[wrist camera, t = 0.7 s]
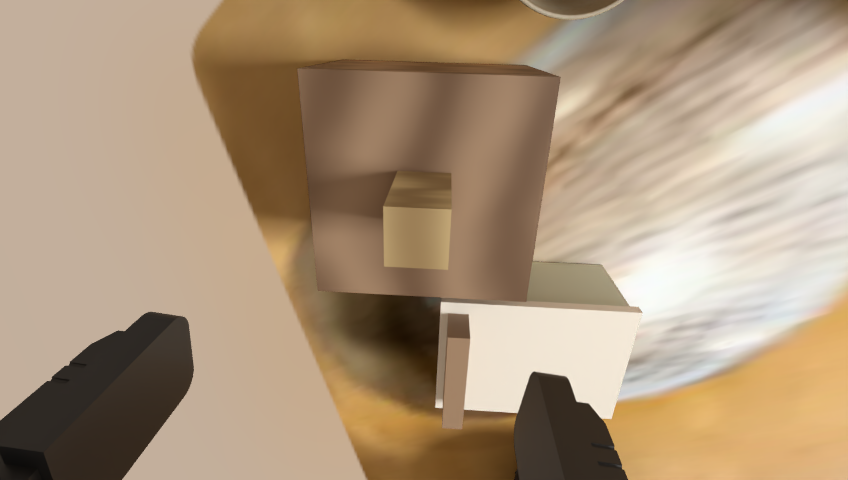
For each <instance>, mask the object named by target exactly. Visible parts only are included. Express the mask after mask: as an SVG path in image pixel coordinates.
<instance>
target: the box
mask: <svg viewBox="0 0 848 480" xmlns="http://www.w3.org/2000/svg"><path fill="white" fill-rule="evenodd" d="M526 301H537V302H555V303H574V304H592V305H611V306H629V304H628V303H627V301H626V300H625V298H624V297H623V295H622V294H621V292H620V291H619V290H618V288H617V287H616V285H615V284H614V282H613V281H612V279H611V278H610V276H609V275H608V273H607V272H606V270H605V269H604V267H603V266H602V265H593V264H573V263H553V262H533V261H532V267H531V274H530V280H529V287H528V293H527V300H526Z"/></svg>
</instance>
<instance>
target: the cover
mask: <svg viewBox="0 0 848 480" xmlns="http://www.w3.org/2000/svg"><path fill="white" fill-rule="evenodd" d="M297 71H298V82H299V93H300V103H301V114H302V125H303V136H304V147H305V158H306V168H307V179H308V190H309V201H310V212H311V223H312V234H313V244H314V255H315V266H316V277H317V288H318V291H331V292H349V293H368V294H386V295H405V296H423V297H442V298H460V299H479V300H497V301H516V302H526V300H527V293H528V287H529V280H530V274H531V267H532V261H533V254H534V248H535V241H536V235H537V228H538V221H539V215H540V208H541V202H542V195H543V189H544V182H545V176H546V169H547V162H548V156H549V149H550V143H551V136H552V130H553V123H554V117H555V110H556V104H557V97H558V90H559V84H560V77H559V76H556V75H553V74H550V73H547V72H544V71H541V70H538V69H536V68H533V67H530V66H527V65H496V64H465V63H433V62H402V61H371V60H339V61H334V62H329V63H323V64H318V65H313V66H307V67H302V68H297Z"/></svg>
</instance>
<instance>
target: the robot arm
mask: <svg viewBox="0 0 848 480" xmlns="http://www.w3.org/2000/svg"><path fill="white" fill-rule="evenodd" d="M193 368H194V366H193V358H192V349H191V341H190V331H189V324H188V321H187V319H186V318H185V317H182V316H175V315H169V314H162V313H156V312H148V313H146V314H144V315H143V316H141V317H140V318H139V319H138V320H137V321H136V322H135V323H133V324H132V325H131V326H130V327H129V328H128V329H127V330H126V331H116V332H114V333H112V334H110V335H108V336H106V337H104V338H102V339H100V340H98V341H96V342H94V343H92V344H91V345H89V346H88V347H87V348H86V349H85V350H83V351H82V352H81V353H80V354H79V355H78V356H76V357H75V358H74V359H73V360H72V361H70V364H69V366H64V367H63V368H62V369H61V370H60V371H59V372H57V373H56V374H55V375H54V376H53V377H52V380H51V381H47V382H46V383H44V384H43V385H42V386H41V387H40V388H38V389H37V390H36V391H35V392H34V393H32V394H31V395H30V396H29V397H28V398H27V399H25V400H24V401H23V402H22V403H21V404H19V405H18V406H17V407H16V408H15V409H13V410H12V411H11V412H10V413H9V414H8V415H6V416H5V417H4V418H3V419H2V420H0V480H122V479H123V477H124V476H125V475H126V474H127V472H128V471H129V470H130V468H131V467H132V466H133V464H134V463H135V462H136V460H137V459H138V457H139V456H140V455H141V454H142V452H143V451H144V450H145V448H146V447H147V446H148V444H149V443H150V442H151V440H152V439H153V438H154V436H155V435H156V434H157V432H158V431H159V430H160V428H161V427H162V426H163V424H164V423H165V422H166V420H167V419H168V417H169V416H170V415H171V414H172V412H173V411H174V410H175V408H176V407H177V405H178V404H179V403H180V402H181V400H182V399H183V398H184V396H185V395H186V393H187V391H188V389H189V387H190V384H191V381H192V378H193V371H194V369H193ZM514 448H515V455H516V461H517V468H518V474H519V480H628V479H627V476H626V474H625V471H624V470H622V464H621V461H620V459H619V456H618V454H617V451H616V450H614V444H613V441H612V439H611V436H610V434H609V431H608V429H607V426H606V424H605V423H604V421H603V420H602V419H601V418H600V417H599V415H598V414H597V413H596V412H595V410H594V409H593V408H592V407H591V406H590V404H589V403H582V402H577V401H576V399H575V396H574V393H573V390H572V387H571V384H570V381H569V379H568V378H567V377H566V376H561V375H554V374H548V373H541V372H535V371H534V372H532V373H531V375H530V377H529V380H528V383H527V386H526V389H525V392H524V395H523V398H522V402H521V405H520V408H519V411H518V414H517V417H516V421H515V427H514Z"/></svg>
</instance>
